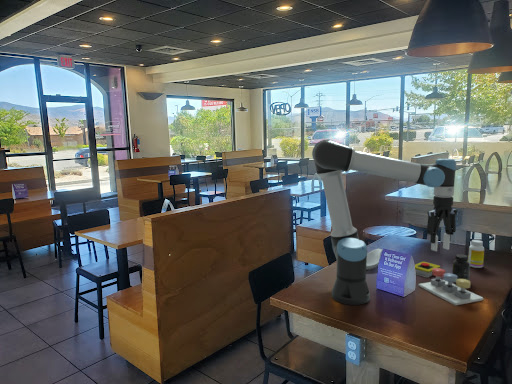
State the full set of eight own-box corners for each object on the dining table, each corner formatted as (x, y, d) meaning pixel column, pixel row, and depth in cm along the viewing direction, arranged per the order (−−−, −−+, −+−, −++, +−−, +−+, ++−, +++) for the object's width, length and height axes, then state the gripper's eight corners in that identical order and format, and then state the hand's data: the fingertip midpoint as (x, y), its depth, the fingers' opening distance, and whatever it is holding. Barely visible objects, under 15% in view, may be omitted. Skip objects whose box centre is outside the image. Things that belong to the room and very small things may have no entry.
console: (455, 305, 148) (455, 298, 148) (418, 286, 167) (419, 279, 166) (483, 300, 152) (483, 293, 152) (444, 281, 171) (444, 275, 171)
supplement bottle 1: (466, 279, 174) (468, 254, 172) (470, 285, 167) (472, 258, 165) (450, 278, 176) (451, 252, 174) (453, 283, 169) (455, 257, 167)
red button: (437, 281, 162) (438, 272, 161) (429, 277, 167) (429, 268, 166) (447, 280, 164) (447, 271, 163) (438, 276, 168) (438, 267, 168)
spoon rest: (370, 274, 182) (370, 259, 181) (349, 267, 191) (349, 253, 190) (395, 262, 198) (396, 249, 197) (375, 257, 206) (375, 244, 205)
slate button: (449, 287, 156) (450, 278, 155) (440, 283, 161) (441, 274, 160) (459, 286, 157) (460, 276, 157) (450, 281, 162) (450, 272, 162)
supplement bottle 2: (485, 268, 187) (488, 243, 185) (472, 268, 187) (474, 243, 185) (478, 263, 194) (480, 239, 192) (465, 263, 194) (466, 239, 192)
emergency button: (408, 264, 183) (425, 257, 192) (408, 273, 184) (424, 266, 193) (427, 269, 176) (443, 262, 185) (427, 278, 176) (443, 271, 185)
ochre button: (463, 293, 150) (463, 284, 149) (452, 289, 155) (453, 279, 154) (472, 292, 151) (473, 282, 151) (462, 287, 156) (463, 278, 155)
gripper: (432, 198, 153) (428, 254, 157) (468, 195, 159) (464, 249, 162) (418, 196, 160) (415, 249, 164) (454, 193, 166) (450, 244, 170)
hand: (440, 249), depth 163 cm, fingers open, 6 cm apart
